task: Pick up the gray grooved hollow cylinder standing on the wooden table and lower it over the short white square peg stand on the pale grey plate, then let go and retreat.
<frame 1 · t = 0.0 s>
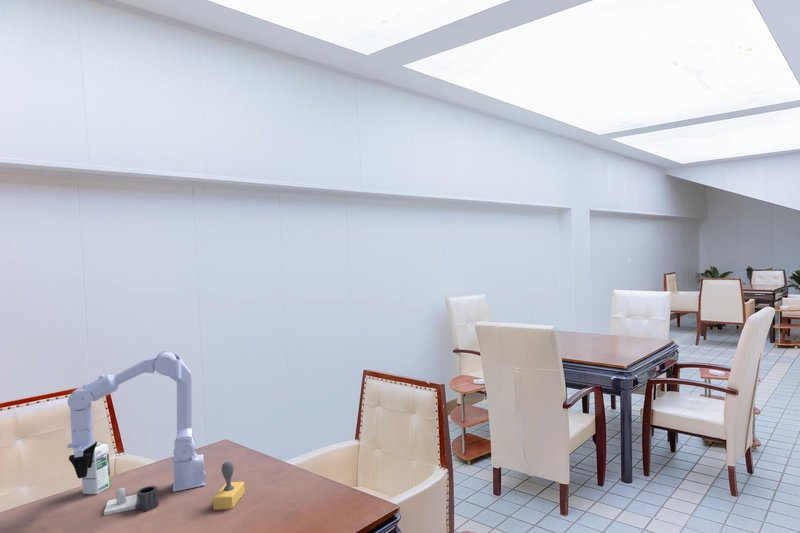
hand: (84, 472, 149), 10 cm above the table, fingers open, 7 cm apart
syrup box: (96, 490, 160), on the table
gray grooved hollow cylinder: (148, 506, 146), on the table
rubber stamp: (229, 501, 147), on the table
white square peg stand: (121, 506, 147), on the table
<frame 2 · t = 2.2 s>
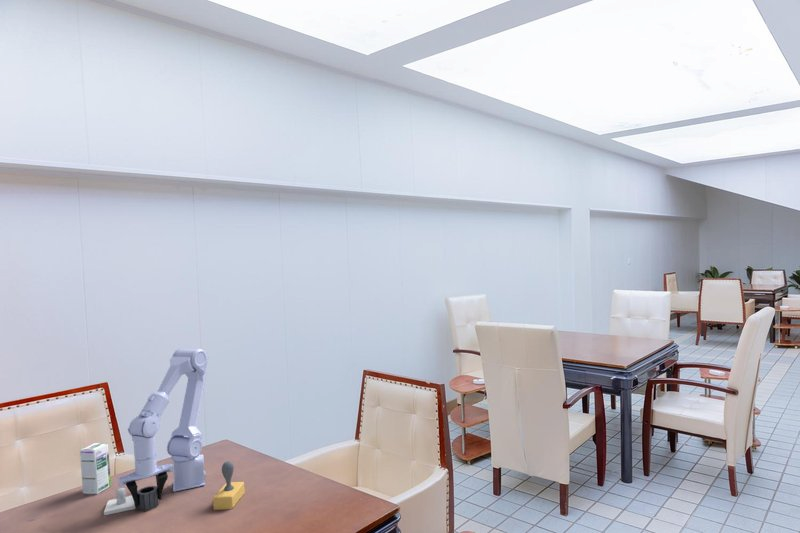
hand: (147, 501, 146), 1 cm above the table, fingers closed on gray grooved hollow cylinder, 6 cm apart
gray grooved hollow cylinder: (148, 506, 146), on the table, touching gripper
everything else where it was.
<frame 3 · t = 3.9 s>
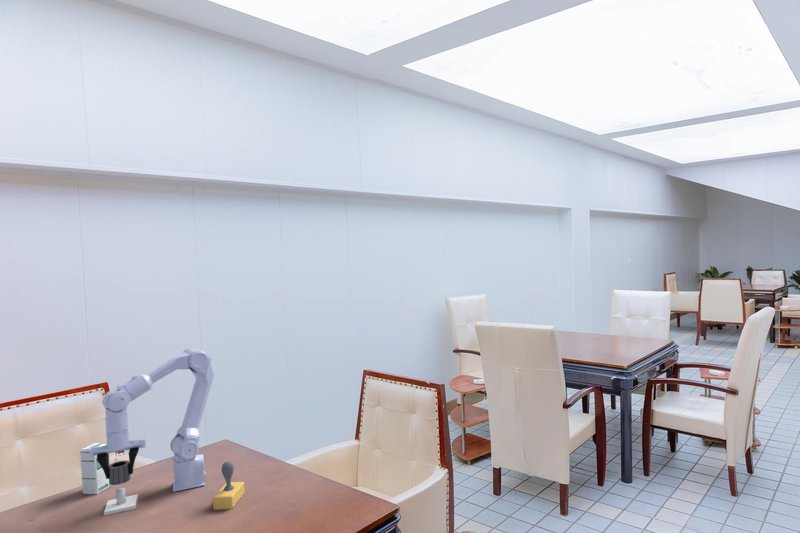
hand: (119, 475, 147), 9 cm above the table, fingers closed on gray grooved hollow cylinder, 6 cm apart
gray grooved hollow cylinder: (120, 480, 147), point 8 cm above the table, touching gripper
everything else where it was.
when the fingers open (4 cm above the table, at t = 5.4 s): gray grooved hollow cylinder drops 1 cm, resting on white square peg stand.
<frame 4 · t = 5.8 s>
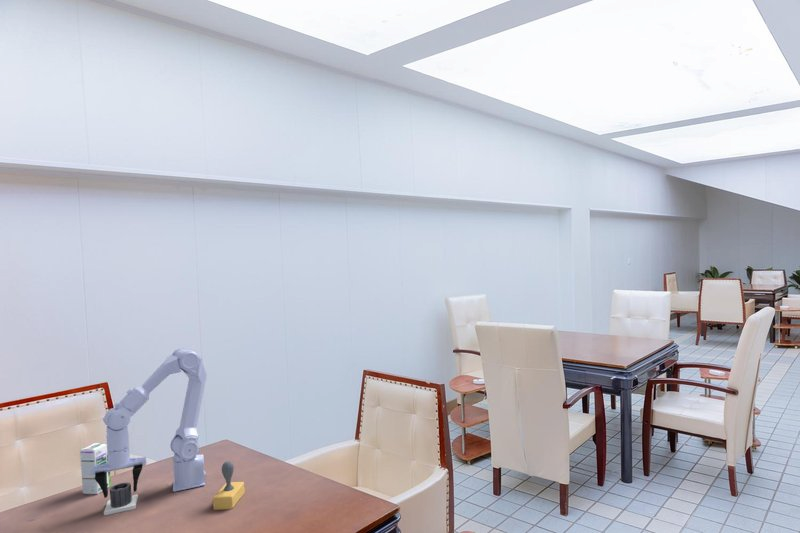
hand: (120, 493, 147), 4 cm above the table, fingers open, 7 cm apart
gray grooved hollow cylinder: (121, 503, 147), point 1 cm above the table, touching white square peg stand
everything else where it was.
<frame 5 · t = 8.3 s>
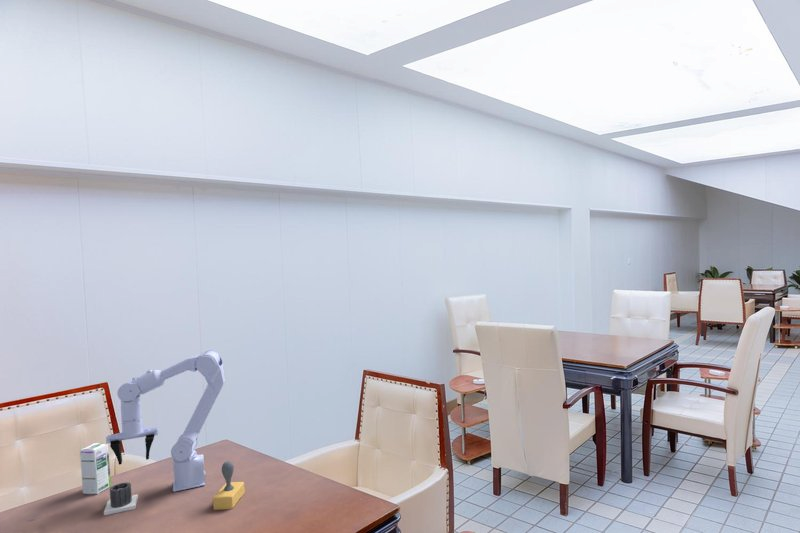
hand: (134, 460, 157), 10 cm above the table, fingers open, 7 cm apart
nothing on the table moved.
at the end: gray grooved hollow cylinder 0.2 cm off-centre on the white square peg stand, point 1.0 cm above the white square peg stand's base; the gripper is holding nothing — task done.
